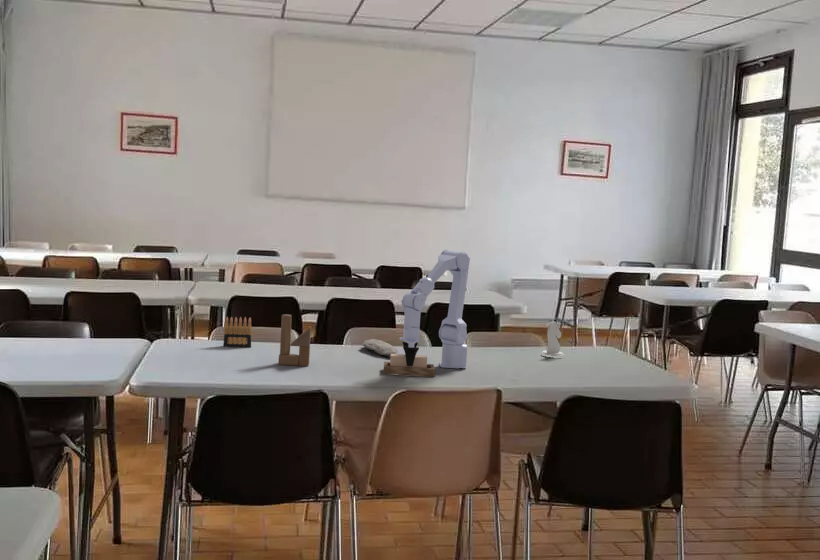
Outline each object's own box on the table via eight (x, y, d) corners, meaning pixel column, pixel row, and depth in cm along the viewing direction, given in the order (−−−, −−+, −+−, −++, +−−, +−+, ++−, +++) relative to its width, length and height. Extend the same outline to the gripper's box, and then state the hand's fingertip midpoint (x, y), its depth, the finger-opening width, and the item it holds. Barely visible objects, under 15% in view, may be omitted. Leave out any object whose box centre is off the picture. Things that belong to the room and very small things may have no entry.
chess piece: (569, 357, 340) (572, 322, 338) (553, 359, 334) (556, 323, 332) (551, 353, 348) (554, 318, 346) (535, 355, 341) (538, 319, 340)
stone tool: (382, 335, 338) (406, 346, 315) (381, 347, 338) (406, 359, 315) (356, 335, 333) (379, 346, 310) (355, 347, 333) (378, 359, 311)
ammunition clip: (223, 346, 316) (224, 316, 315) (223, 346, 318) (224, 315, 317) (251, 347, 318) (252, 317, 317) (251, 346, 320) (252, 316, 319)
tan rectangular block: (425, 370, 293) (426, 355, 292) (426, 372, 289) (427, 357, 288) (389, 368, 292) (390, 353, 292) (389, 371, 288) (390, 355, 288)
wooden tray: (432, 371, 295) (433, 364, 295) (434, 377, 287) (434, 369, 287) (383, 369, 294) (384, 361, 294) (383, 374, 286) (384, 366, 286)
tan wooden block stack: (308, 366, 291) (310, 317, 289) (278, 365, 290) (280, 315, 288) (309, 364, 294) (311, 315, 293) (279, 362, 294) (281, 313, 292)
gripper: (400, 322, 296) (397, 358, 297) (401, 329, 282) (398, 367, 283) (419, 323, 296) (416, 360, 298) (421, 330, 282) (418, 368, 283)
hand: (409, 363), depth 290 cm, fingers open, 7 cm apart
